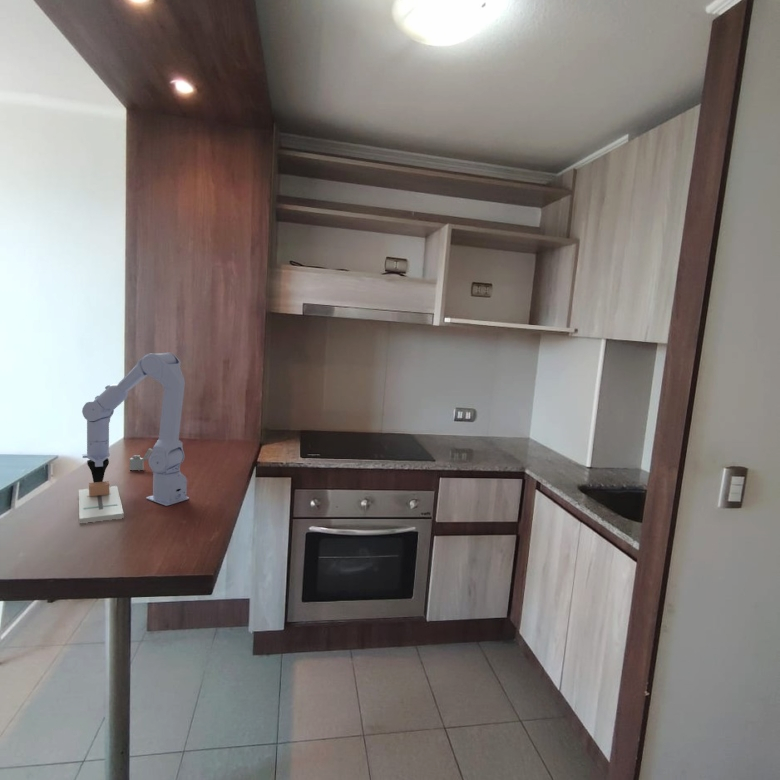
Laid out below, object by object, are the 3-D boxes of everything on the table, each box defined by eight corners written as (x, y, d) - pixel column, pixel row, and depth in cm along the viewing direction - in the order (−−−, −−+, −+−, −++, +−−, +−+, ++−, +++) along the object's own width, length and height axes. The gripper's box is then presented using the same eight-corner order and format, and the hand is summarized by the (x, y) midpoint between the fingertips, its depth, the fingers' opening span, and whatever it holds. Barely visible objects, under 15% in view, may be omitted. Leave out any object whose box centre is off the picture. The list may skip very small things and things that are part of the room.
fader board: (78, 494, 145) (78, 489, 145) (116, 490, 150) (117, 485, 150) (79, 524, 125) (79, 518, 125) (123, 518, 130) (123, 512, 130)
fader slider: (88, 492, 141) (88, 482, 141) (108, 490, 144) (108, 481, 144) (89, 496, 139) (89, 486, 139) (109, 494, 142) (109, 484, 141)
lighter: (129, 470, 170) (129, 448, 169) (130, 469, 171) (131, 447, 170) (151, 470, 172) (151, 448, 171) (152, 469, 173) (153, 447, 172)
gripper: (82, 435, 151) (82, 477, 153) (82, 446, 139) (82, 492, 140) (108, 434, 155) (108, 475, 156) (111, 444, 143) (110, 489, 144)
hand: (98, 483), depth 149 cm, fingers closed
